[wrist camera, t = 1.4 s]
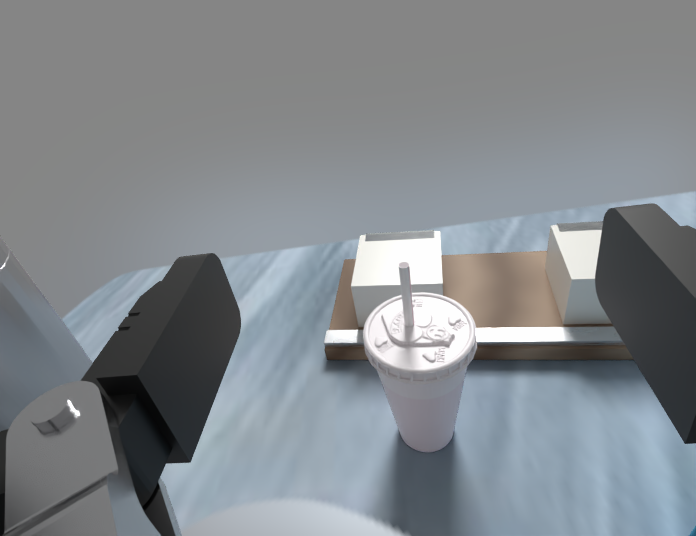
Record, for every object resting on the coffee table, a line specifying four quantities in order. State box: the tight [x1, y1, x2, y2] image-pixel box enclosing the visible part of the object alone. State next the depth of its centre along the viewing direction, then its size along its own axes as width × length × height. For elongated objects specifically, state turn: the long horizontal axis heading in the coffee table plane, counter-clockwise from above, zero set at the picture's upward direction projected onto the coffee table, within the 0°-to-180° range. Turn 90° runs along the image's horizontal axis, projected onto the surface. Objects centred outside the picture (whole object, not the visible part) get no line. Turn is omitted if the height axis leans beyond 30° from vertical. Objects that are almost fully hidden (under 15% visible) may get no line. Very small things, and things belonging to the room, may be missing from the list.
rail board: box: [324, 221, 634, 360], centre depth 38 cm, size 28×12×6 cm, turn 83°
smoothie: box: [363, 262, 477, 452], centre depth 28 cm, size 6×6×14 cm
